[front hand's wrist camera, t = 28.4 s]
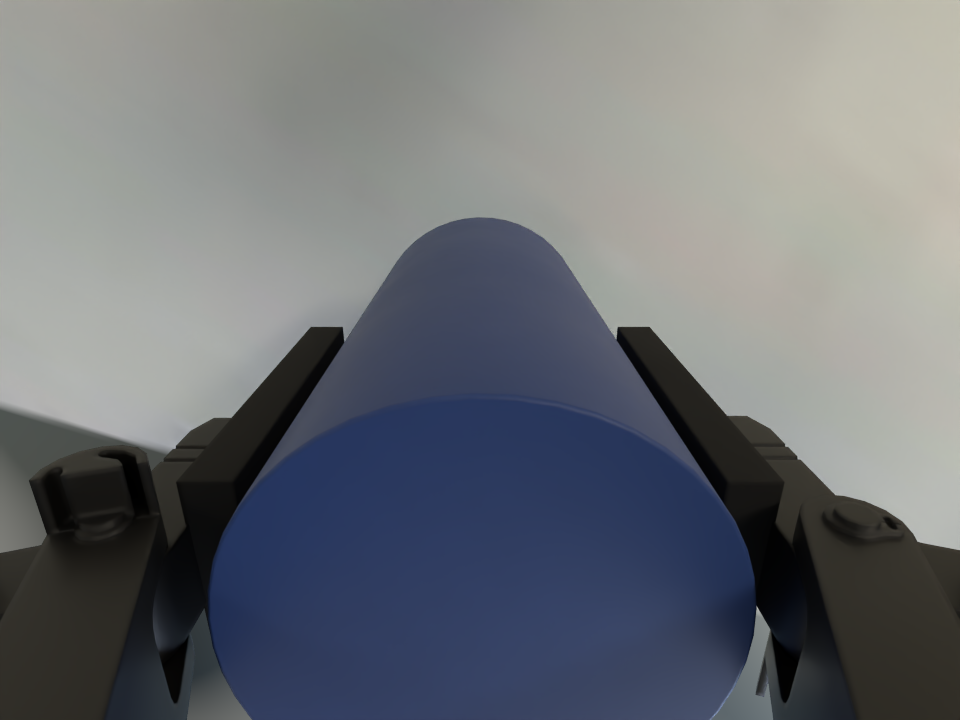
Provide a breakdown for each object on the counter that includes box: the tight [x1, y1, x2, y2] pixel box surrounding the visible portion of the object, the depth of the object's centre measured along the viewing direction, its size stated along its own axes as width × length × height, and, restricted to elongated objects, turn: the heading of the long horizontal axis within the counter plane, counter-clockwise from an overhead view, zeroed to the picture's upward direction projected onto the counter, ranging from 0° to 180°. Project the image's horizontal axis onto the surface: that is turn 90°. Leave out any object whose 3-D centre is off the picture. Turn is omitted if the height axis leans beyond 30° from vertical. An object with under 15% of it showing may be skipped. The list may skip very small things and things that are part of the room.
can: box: [208, 218, 756, 720], centre depth 13 cm, size 6×6×13 cm
